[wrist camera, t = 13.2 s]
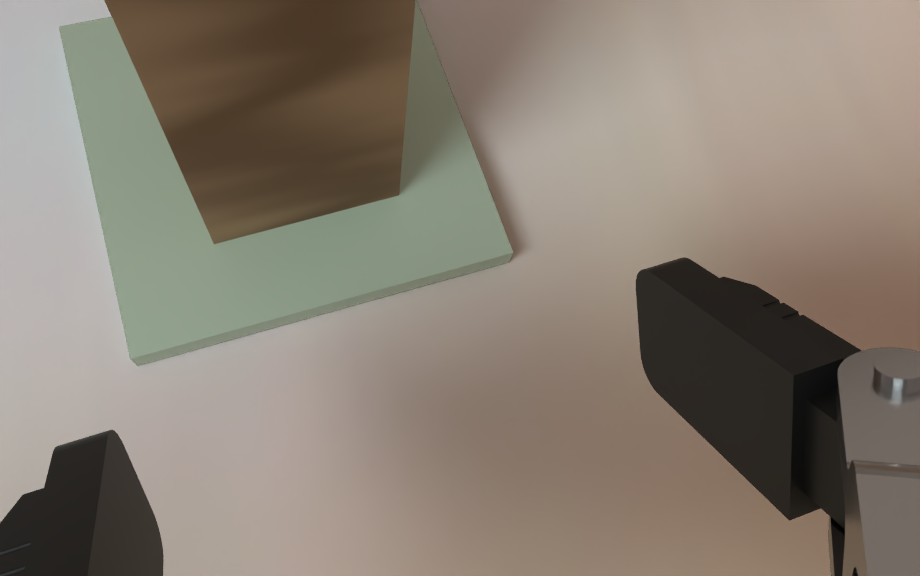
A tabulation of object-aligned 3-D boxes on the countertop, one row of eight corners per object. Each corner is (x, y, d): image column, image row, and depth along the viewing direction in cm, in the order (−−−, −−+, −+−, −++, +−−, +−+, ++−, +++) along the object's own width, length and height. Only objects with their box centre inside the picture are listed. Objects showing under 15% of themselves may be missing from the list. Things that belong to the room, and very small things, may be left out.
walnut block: (214, 244, 19) (60, -99, 9) (170, 84, 20) (-3, -357, 11) (399, 195, 20) (429, -160, 10) (345, 46, 21) (329, -390, 12)
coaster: (137, 365, 18) (130, 359, 17) (67, 41, 21) (59, 26, 20) (509, 261, 20) (513, 252, 19) (401, -23, 23) (401, -39, 22)
